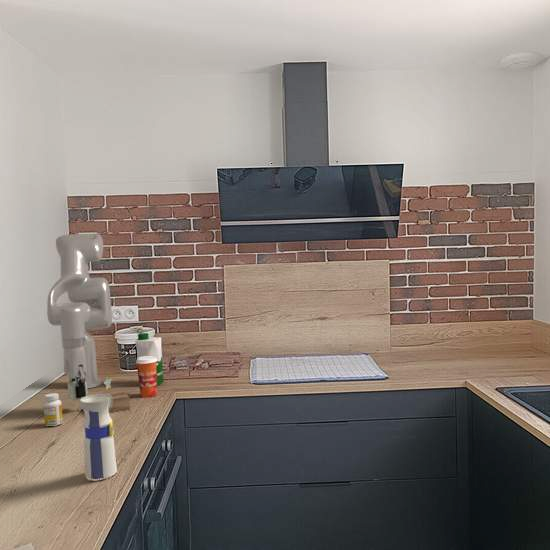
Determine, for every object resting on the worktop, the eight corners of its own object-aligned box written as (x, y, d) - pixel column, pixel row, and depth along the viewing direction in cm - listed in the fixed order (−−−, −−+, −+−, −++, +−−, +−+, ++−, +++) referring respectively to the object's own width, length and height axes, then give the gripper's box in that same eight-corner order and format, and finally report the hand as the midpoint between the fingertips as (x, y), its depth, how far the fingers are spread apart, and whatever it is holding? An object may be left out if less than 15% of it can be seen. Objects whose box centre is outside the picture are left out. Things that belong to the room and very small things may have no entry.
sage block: (68, 397, 210) (67, 382, 210) (83, 393, 213) (81, 379, 213) (73, 400, 206) (72, 385, 206) (88, 397, 209) (86, 382, 209)
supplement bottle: (57, 421, 200) (54, 391, 199) (66, 423, 196) (64, 393, 195) (41, 425, 195) (39, 395, 195) (51, 428, 192) (48, 397, 191)
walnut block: (92, 409, 212) (91, 395, 211) (121, 404, 217) (120, 390, 216) (100, 416, 203) (99, 401, 203) (130, 410, 208) (129, 396, 208)
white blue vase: (122, 466, 157) (115, 370, 155) (114, 480, 149) (107, 378, 147) (89, 468, 157) (82, 372, 155) (80, 482, 149) (72, 380, 147)
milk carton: (145, 381, 247) (142, 332, 246) (166, 381, 246) (163, 331, 244) (136, 387, 239) (132, 335, 237) (158, 387, 237) (154, 335, 236)
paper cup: (138, 399, 221) (135, 360, 220) (137, 394, 228) (134, 356, 227) (160, 396, 223) (158, 358, 222) (158, 391, 230) (156, 354, 229)
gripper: (55, 340, 213) (59, 392, 215) (71, 348, 199) (75, 403, 201) (76, 337, 217) (80, 388, 219) (93, 344, 203) (97, 398, 205)
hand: (78, 394), depth 210 cm, fingers closed on sage block, 5 cm apart
